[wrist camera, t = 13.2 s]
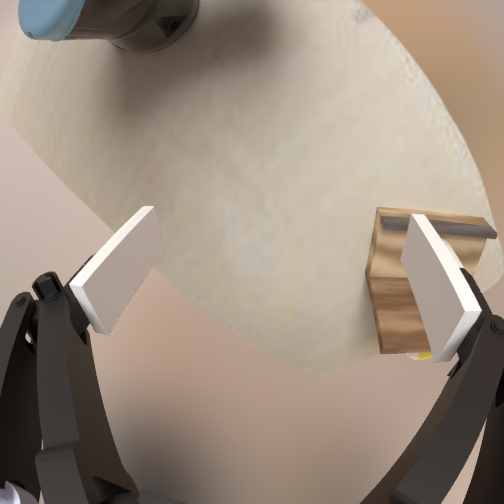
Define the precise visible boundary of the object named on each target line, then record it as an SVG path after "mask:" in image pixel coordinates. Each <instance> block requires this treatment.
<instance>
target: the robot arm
mask: <svg viewBox="0 0 504 504" xmlns="http://www.w3.org/2000/svg"><path fill="white" fill-rule="evenodd" d="M198 5H199V0H19V7H18V16H19V23H20V26H21V29H22V30H23V32H24V33H25V35H27V36H28V37H29V38H31V39H35V40H51V41H54V42H56V41H60V40H75V39H106V40H109V41H110V42H112V43H113V44H114V45H116V46H117V47H118V48H120V49H122V50H125V51H129V52H140V53H147V52H153V51H157V50H160V49H162V48H165V47H167V46H168V45H170V44H172V43H173V42H175V41H176V40H177V39H179V38H180V37H181V36H182V35H183V34H184V33H185V32H186V30H187V29H188V28H189V27H190V25H191V24H192V22H193V20H194V18H195V16H196V13H197V10H198ZM164 250H165V246H164V242H163V238H162V234H161V230H160V226H159V222H158V217H157V213H156V209H155V206H143V207H142V208H141V209H140V210H139V211H138V212H136V213H135V214H134V215H133V216H132V217H131V218H130V219H129V220H128V221H127V222H126V223H125V224H124V225H123V226H122V227H121V228H120V229H119V230H118V231H117V232H116V233H115V234H114V236H112V237H111V238H110V240H108V242H107V243H106V244H105V245H104V246H103V247H102V248H101V249H100V250H99V251H98V252H97V253H96V254H94V255H93V256H91V257H90V258H89V259H88V260H87V261H86V262H85V263H84V265H82V267H81V268H80V269H79V271H77V272H76V273H75V274H74V276H73V277H72V278H71V279H70V280H69V281H68V282H67V284H66V285H65V286H64V287H63V286H62V284H61V282H60V280H59V278H58V276H57V274H56V273H55V272H47V273H44V274H43V275H40V276H39V277H38V278H37V279H36V280H35V281H34V283H33V285H32V288H33V290H34V292H35V293H36V295H37V297H38V299H39V300H34V299H33V297H32V295H31V294H30V293H29V292H23V293H20V294H19V295H17V296H16V297H15V298H14V299H13V301H12V302H11V304H10V307H9V309H8V311H7V313H6V316H5V318H4V321H3V323H2V326H1V328H0V504H39V499H40V491H41V492H42V495H43V499H44V503H45V504H185V503H182V502H179V501H176V500H173V499H169V498H166V497H163V496H160V495H157V494H155V493H152V492H149V491H146V490H144V489H142V490H141V492H139V491H138V489H137V487H136V485H135V483H134V481H133V479H132V478H131V476H130V475H129V474H128V473H127V472H126V470H125V469H124V467H123V465H122V463H121V460H120V457H119V454H118V452H117V449H116V446H115V443H114V440H113V437H112V434H111V430H110V427H109V423H108V420H107V416H106V413H105V409H104V405H103V401H102V397H101V393H100V389H99V384H98V380H97V376H96V370H95V365H94V359H93V354H92V348H91V341H90V335H89V332H88V330H87V327H88V325H89V323H90V324H91V325H92V327H93V329H94V330H95V332H97V333H101V334H104V335H109V334H110V332H111V330H112V329H113V327H114V325H115V324H116V322H117V321H118V319H119V317H120V316H121V314H122V313H123V311H124V310H125V308H126V306H127V305H128V303H129V302H130V300H131V299H132V297H133V296H134V294H135V293H136V291H137V289H138V288H139V287H140V285H141V284H142V282H143V281H144V279H145V277H146V276H147V274H148V273H149V272H150V270H151V269H152V267H153V266H154V264H155V263H156V262H157V260H158V259H159V257H160V256H161V254H162V253H163V252H164ZM400 260H401V263H402V265H403V268H404V270H405V273H406V275H407V278H408V281H409V283H410V286H411V289H412V291H413V294H414V297H415V300H416V303H417V306H418V309H419V312H420V315H421V318H422V321H423V324H424V327H425V331H426V334H427V337H428V341H429V344H430V348H431V352H432V355H433V359H434V362H435V363H436V362H445V361H450V360H451V359H452V358H453V356H454V355H455V353H456V352H457V353H458V356H459V361H458V362H457V363H456V364H455V366H454V367H453V369H452V370H451V371H450V372H449V374H448V375H447V376H450V377H449V379H448V381H447V383H446V385H445V387H444V389H443V391H442V392H441V394H440V396H439V398H438V399H437V401H436V403H435V405H434V406H433V408H432V410H431V411H430V413H429V415H428V416H427V418H426V420H425V421H424V423H423V424H422V426H421V428H420V429H419V430H418V432H417V434H416V435H415V436H414V438H413V439H412V441H411V442H410V444H409V445H408V446H407V448H406V449H405V451H404V452H403V453H402V455H401V456H400V457H399V459H398V460H397V461H396V462H395V464H394V465H393V466H392V468H391V469H390V470H389V471H388V472H387V474H386V475H385V476H384V477H383V478H382V480H381V481H380V482H379V483H378V484H377V485H376V487H375V488H374V489H373V490H372V491H371V492H370V493H369V494H368V495H367V496H366V498H365V499H364V500H363V501H362V502H361V503H360V504H441V502H442V501H443V499H444V498H445V496H446V495H447V493H448V492H449V490H450V489H451V487H452V486H453V484H454V482H455V481H456V479H457V477H458V475H459V474H460V472H461V470H462V468H463V467H464V465H465V463H466V461H467V459H468V457H469V455H470V453H471V451H472V449H473V447H474V445H475V443H476V441H477V439H478V437H479V434H480V432H481V430H482V428H483V425H484V423H485V420H486V418H487V420H486V425H485V430H484V435H483V440H482V444H481V448H480V452H479V456H478V459H477V463H476V466H475V470H474V473H473V476H472V480H471V482H470V485H469V488H468V491H467V494H466V497H465V499H464V501H463V504H504V319H503V318H501V317H500V316H497V315H493V314H492V312H491V310H490V308H489V306H488V304H487V302H486V300H485V298H484V296H483V295H482V293H481V292H480V289H479V287H478V286H477V285H476V282H475V280H474V279H473V277H472V275H471V274H470V273H469V272H468V271H467V270H465V269H464V268H459V267H458V265H457V264H456V262H455V260H454V259H453V257H452V255H451V254H450V252H449V251H448V249H447V247H446V246H445V244H444V243H443V241H442V240H441V238H440V237H439V235H438V234H437V232H436V231H435V229H434V228H433V226H432V225H431V223H430V222H429V220H428V219H427V218H426V216H425V215H422V214H411V217H410V222H409V226H408V231H407V235H406V239H405V244H404V248H403V251H402V255H401V259H400ZM26 332H27V334H28V335H29V337H30V338H31V342H30V343H29V342H28V341H27V340H26V338H25V335H26ZM42 439H43V450H42V449H41V448H42ZM41 450H42V451H41Z"/></svg>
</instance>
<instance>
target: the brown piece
mask: <svg viewBox="0 0 504 504" xmlns="http://www.w3.org/2000/svg"><path fill="white" fill-rule="evenodd" d="M411 214H422V215H425V216H426V218H427V219H428V220H429V222H430V223H431V225H432V226H433V228H434V229H435V231H436V232H437V234H438V235H439V237H440V238H443V239H445V240H446V241H447V242H448V243H449V244H450V246H451V247H452V249H453V250H454V252H455V254H456V255H457V257H458V258H459V260H460V262H461V263H462V265H463V267H464V268H465V270H467V271H468V272H469V273H470V274H471V275H472V276H473V274H474V271H475V269H476V266H477V264H478V261H479V259H480V256H481V254H482V251H483V248H484V245H485V243H486V240H487V238H490V239H496V237H497V233H496V232H495V230H494V229H493V228H492V227H491V226H490V225H489V224H488V223H487V222H486V220H485V219H484V218H479V217H471V216H463V215H455V214H446V213H437V212H427V211H417V210H406V209H394V208H381V207H377V212H376V219H375V225H374V231H373V236H372V242H371V247H370V253H369V258H368V262H367V267H366V272H365V273H366V278H367V282H368V287H369V292H370V297H371V301H372V307H373V312H374V317H375V323H376V328H377V334H378V341H379V347H380V354H398V353H420V352H431V348H430V344H429V341H428V337H427V334H426V331H425V327H424V324H423V321H422V318H421V315H420V312H419V309H418V306H417V303H416V300H415V297H414V294H413V291H412V289H411V286H410V283H409V281H408V278H407V275H406V273H405V270H404V268H403V265H402V263H401V260H400V259H401V255H402V251H403V248H404V244H405V239H406V235H407V231H408V226H409V222H410V217H411Z"/></svg>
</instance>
